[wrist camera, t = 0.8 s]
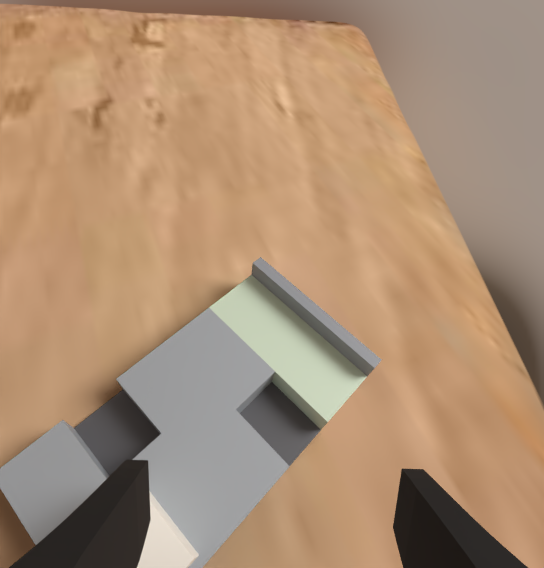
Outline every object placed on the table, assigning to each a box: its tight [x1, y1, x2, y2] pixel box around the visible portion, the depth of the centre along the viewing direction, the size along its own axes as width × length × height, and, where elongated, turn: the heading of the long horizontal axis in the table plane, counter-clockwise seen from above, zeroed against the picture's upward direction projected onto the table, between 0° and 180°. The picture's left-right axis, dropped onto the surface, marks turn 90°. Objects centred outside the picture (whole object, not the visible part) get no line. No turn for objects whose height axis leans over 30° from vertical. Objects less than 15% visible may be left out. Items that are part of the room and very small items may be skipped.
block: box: [137, 491, 199, 568], centre depth 17 cm, size 4×4×4 cm
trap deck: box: [0, 257, 381, 568], centre depth 24 cm, size 20×11×4 cm, turn 136°
